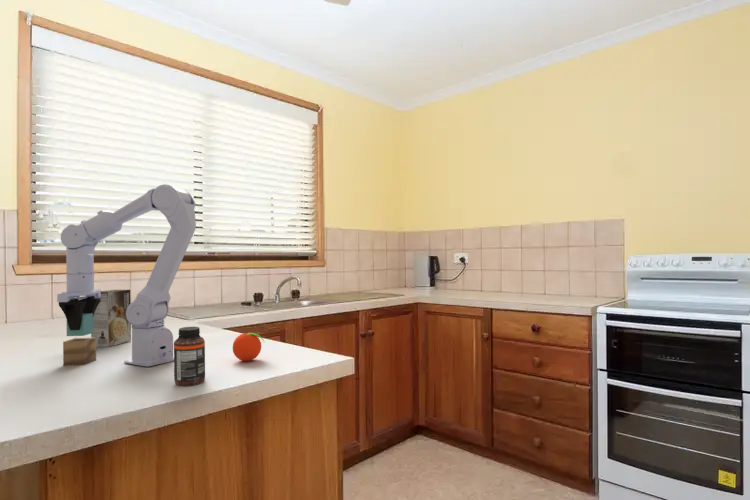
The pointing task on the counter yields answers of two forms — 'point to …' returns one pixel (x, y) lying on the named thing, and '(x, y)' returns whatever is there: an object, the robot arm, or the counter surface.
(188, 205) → the robot arm
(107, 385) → the counter surface
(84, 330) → the teal block
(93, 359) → the tower lower
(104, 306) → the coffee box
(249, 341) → the clementine
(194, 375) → the supplement bottle
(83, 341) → the tower upper
